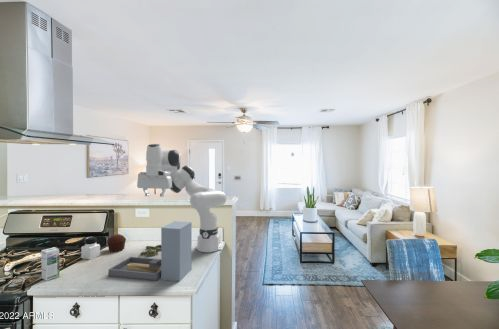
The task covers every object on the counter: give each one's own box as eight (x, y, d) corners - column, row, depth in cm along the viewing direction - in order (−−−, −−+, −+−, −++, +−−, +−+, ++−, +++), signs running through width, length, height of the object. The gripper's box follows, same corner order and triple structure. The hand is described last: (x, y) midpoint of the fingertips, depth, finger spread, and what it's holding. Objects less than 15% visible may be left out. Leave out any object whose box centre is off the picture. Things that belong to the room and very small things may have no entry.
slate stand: (174, 268, 142) (174, 221, 142) (191, 269, 141) (191, 222, 140) (161, 279, 129) (161, 227, 128) (179, 281, 127) (180, 228, 126)
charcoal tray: (130, 262, 150) (130, 256, 150) (173, 266, 145) (173, 260, 145) (108, 276, 132) (108, 269, 132) (156, 281, 127) (156, 273, 127)
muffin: (103, 250, 169) (103, 235, 169) (120, 246, 178) (120, 231, 178) (112, 254, 162) (112, 238, 162) (129, 249, 172) (129, 234, 171)
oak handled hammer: (131, 266, 143) (131, 256, 142) (161, 269, 139) (161, 259, 139) (125, 270, 138) (125, 260, 138) (156, 273, 134) (156, 262, 134)
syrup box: (46, 281, 126) (46, 251, 126) (41, 278, 129) (41, 249, 129) (59, 276, 131) (59, 248, 131) (54, 274, 134) (54, 246, 134)
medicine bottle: (100, 255, 160) (100, 236, 160) (89, 259, 153) (89, 239, 153) (91, 254, 162) (91, 235, 162) (81, 258, 156) (81, 238, 156)
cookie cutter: (147, 247, 176) (147, 245, 176) (165, 247, 177) (165, 244, 177) (138, 257, 158) (138, 254, 158) (158, 257, 159) (158, 253, 159)
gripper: (134, 172, 146) (134, 196, 146) (167, 172, 142) (167, 197, 142) (141, 171, 152) (141, 195, 152) (173, 172, 148) (173, 196, 149)
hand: (154, 196), depth 147 cm, fingers open, 8 cm apart
